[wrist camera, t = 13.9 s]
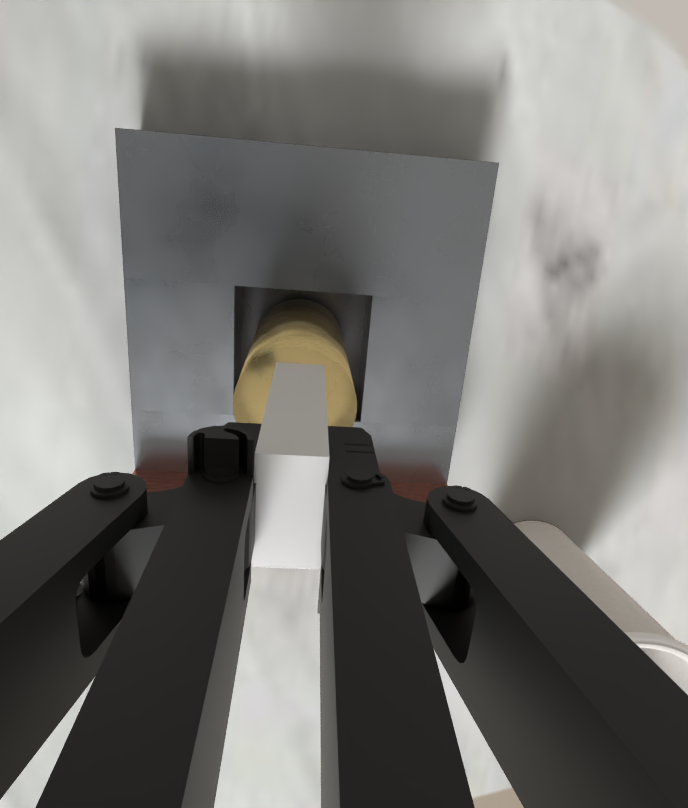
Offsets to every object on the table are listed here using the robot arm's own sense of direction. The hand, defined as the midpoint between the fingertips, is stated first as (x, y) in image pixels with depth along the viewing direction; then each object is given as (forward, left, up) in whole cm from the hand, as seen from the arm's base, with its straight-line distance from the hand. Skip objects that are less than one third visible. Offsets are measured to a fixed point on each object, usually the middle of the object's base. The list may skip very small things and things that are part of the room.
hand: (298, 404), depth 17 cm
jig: (0, 0, -9) cm, 9 cm away
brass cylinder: (0, 0, -8) cm, 8 cm away
